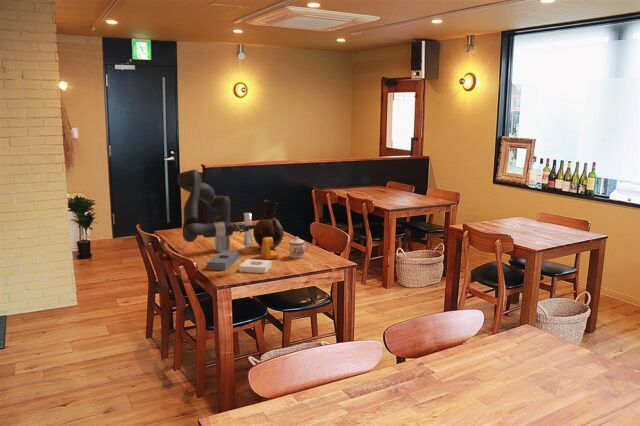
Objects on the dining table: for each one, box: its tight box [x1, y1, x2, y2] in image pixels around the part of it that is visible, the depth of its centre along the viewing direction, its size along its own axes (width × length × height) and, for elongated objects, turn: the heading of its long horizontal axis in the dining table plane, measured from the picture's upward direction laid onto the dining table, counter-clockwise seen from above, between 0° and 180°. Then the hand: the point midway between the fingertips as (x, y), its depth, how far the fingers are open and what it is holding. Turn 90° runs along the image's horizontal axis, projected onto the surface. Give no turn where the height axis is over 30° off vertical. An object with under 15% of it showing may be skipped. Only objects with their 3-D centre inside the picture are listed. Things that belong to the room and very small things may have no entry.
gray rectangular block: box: [206, 250, 240, 271], centre depth 314 cm, size 24×10×4 cm, turn 171°
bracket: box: [260, 237, 280, 260], centre depth 327 cm, size 11×7×12 cm, turn 24°
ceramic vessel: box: [252, 199, 285, 250], centre depth 346 cm, size 21×18×30 cm
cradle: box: [238, 258, 273, 274], centre depth 305 cm, size 14×14×3 cm
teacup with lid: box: [288, 236, 310, 259], centre depth 330 cm, size 12×9×12 cm
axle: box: [243, 212, 253, 247], centre depth 299 cm, size 4×4×17 cm
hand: (252, 225), depth 300 cm, fingers closed on axle, 4 cm apart
